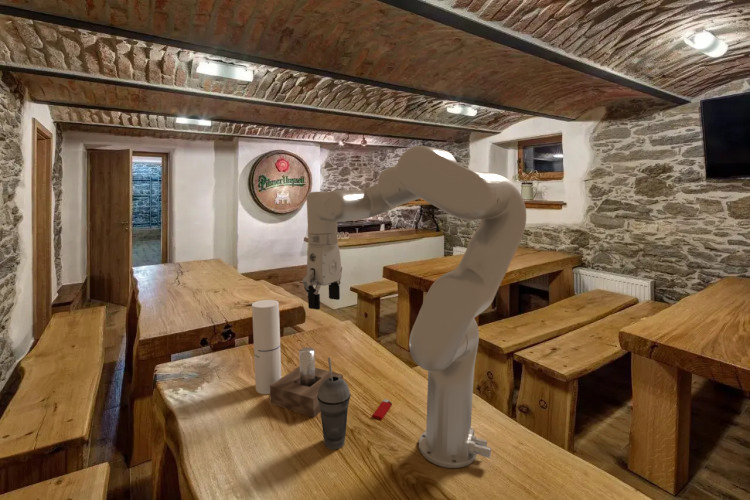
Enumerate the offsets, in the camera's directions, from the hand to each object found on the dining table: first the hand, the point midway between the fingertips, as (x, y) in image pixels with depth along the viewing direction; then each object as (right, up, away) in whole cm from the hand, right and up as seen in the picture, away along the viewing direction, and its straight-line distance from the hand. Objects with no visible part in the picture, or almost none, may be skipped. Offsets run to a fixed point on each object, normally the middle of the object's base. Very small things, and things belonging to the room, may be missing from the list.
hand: (324, 303), depth 101 cm
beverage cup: (+4, -29, -15) cm, 33 cm away
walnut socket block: (-5, -26, +3) cm, 27 cm away
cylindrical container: (-17, -25, +8) cm, 32 cm away
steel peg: (-5, -25, +3) cm, 25 cm away
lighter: (+15, -28, -2) cm, 32 cm away
